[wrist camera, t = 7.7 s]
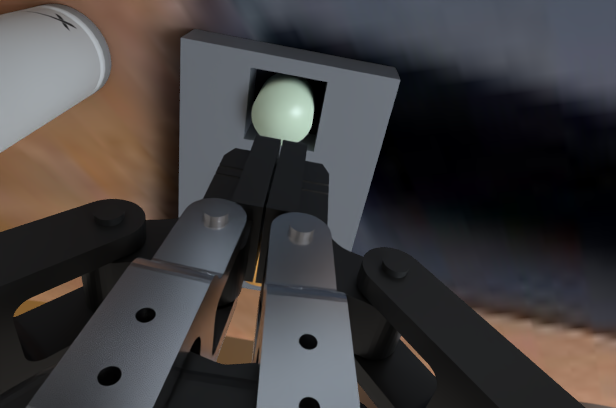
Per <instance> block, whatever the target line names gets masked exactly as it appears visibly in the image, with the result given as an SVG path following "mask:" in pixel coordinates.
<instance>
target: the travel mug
mask: <svg viewBox="0 0 616 408" xmlns="http://www.w3.org/2000/svg"><path fill="white" fill-rule="evenodd" d="M110 71H111V56H110V52H109V48H108V45H107V43H106V41H105V38H104V37H103V35H102V34H101V32H100V31H99V29H98V28H97V27H96V26H95V25H94V23H93V22H92V21H91V20H89V19H88V18H87V17H86V16H85V15H83V14H82V13H80V12H79V11H77V10H75V9H73V8H70V7H68V6H65V5H60V4H45V5H41V6H37V7H32V8H28V9H24V10H19V11H15V12H11V13H6V14H2V15H0V153H1V152H2V151H4V150H5V149H7V148H8V147H10V146H12V145H13V144H15V143H16V142H18V141H19V140H21V139H23V138H24V137H26V136H27V135H29V134H31V133H32V132H34V131H35V130H37V129H38V128H40V127H42V126H43V125H45V124H46V123H48V122H49V121H51V120H53V119H54V118H56V117H57V116H59V115H60V114H62V113H64V112H65V111H67V110H68V109H70V108H71V107H73V106H75V105H76V104H78V103H79V102H81V101H82V100H84V99H86V98H87V97H88V96H90V95H92V94H93V93H95V92H97V91H98V90H99V89H100V88H102V87H103V86H104V84H105V83H106V81H107V80H108V77H109V75H110Z"/></svg>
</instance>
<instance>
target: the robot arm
mask: <svg viewBox="0 0 616 408" xmlns="http://www.w3.org/2000/svg"><path fill="white" fill-rule="evenodd" d="M307 145H308V144H304V143H298V142H293V141H288V140H283V143H282V147H281V151H280V146H281V139H276V138H271V137H266V136H260V135H256V137H255V139H254V142H253V145H252V147H251V150H244V149H239V148H234V149H233V150H231V151H230V152H228V153H226V154H225V155H224V156H223V158H222V160H221V162H220V164H219V166H218V169H217V171H216V173H215V175H214V177H213V179H212V181H211V183H210V185H209V187H208V189H207V191H206V193H205V195H204V198H203V199H200V200H197V201H195V202H193V203H191V204H190V205H189V206H188V207H187V208H186V209H185V210H184V212H183V213H182V215H181V216H180V217H179V218H175V219H166V220H145V213H144V211H143V210H142V208H141V207H139V206H138V205H137V204H135V203H132V202H129V201H126V200H120V199H106V200H99V201H95V202H92V203H89V204H86V205H83V206H80V207H77V208H74V209H70V210H67V211H64V212H61V213H58V214H55V215H52V216H49V217H46V218H43V219H40V220H37V221H34V222H31V223H27V224H24V225H21V226H18V227H15V228H12V229H9V230H6V231H3V232H0V408H367V407H366V406H365V405H364V404H362V403H361V402H359V394H358V386H357V382H358V383H359V385H360V386H361V387H362V388H363V389H364V391H365V392H366V393H367V395H368V396H369V397H370V399H371V400H372V401H373V402H374V404H375V405H376V406H377V407H378V408H585V407H584V406H583V405H582V404H580V403H579V402H578V401H577V400H576V399H575V398H574V397H572V396H571V395H570V394H569V393H568V392H567V391H566V390H564V389H563V388H562V387H561V386H560V385H559V384H558V383H556V382H555V381H554V380H553V379H552V378H551V377H549V376H548V375H547V374H546V373H545V372H544V371H543V370H541V369H540V368H539V367H538V366H537V365H536V364H535V363H533V362H532V361H531V360H530V359H529V358H528V357H527V356H525V355H524V354H523V353H522V352H521V351H520V350H519V349H517V348H516V347H515V346H514V345H513V344H512V343H511V342H509V341H508V340H507V339H506V338H505V337H504V336H503V335H501V334H500V333H499V332H498V331H497V330H496V329H495V328H493V327H492V326H491V325H490V324H489V323H488V322H487V321H485V320H484V319H483V318H482V317H481V316H480V315H479V314H477V313H476V312H475V311H474V310H473V309H472V308H471V307H469V306H468V305H467V304H466V303H465V302H464V301H462V300H461V299H460V298H459V297H458V296H457V295H456V294H454V293H453V292H452V291H451V290H450V289H449V288H448V287H446V286H445V285H444V284H443V283H442V282H441V281H440V280H438V279H437V278H436V277H435V276H434V275H433V274H432V273H430V272H429V271H428V270H427V269H426V268H425V267H424V266H422V265H421V264H420V263H419V262H418V261H417V260H416V259H414V258H413V257H412V256H410V255H408V254H407V253H405V252H402V251H400V250H397V249H393V248H387V247H380V248H375V249H372V250H370V251H368V252H367V253H366V254H365V255H364V257H362V256H360V255H357V254H355V253H352V252H350V251H348V250H346V249H344V248H343V247H341V246H340V245H338V244H337V243H336V242H335V241H334V240H333V239H332V235H331V231H330V229H329V227H328V197H329V195H328V194H329V173H328V171H327V170H326V168H325V167H324V165H323V164H320V163H315V162H310V161H305V160H306V153H307ZM279 152H280V155H279ZM259 253H260V254H259ZM258 257H259V260H258ZM257 261H258V267H257V274H256V281H255V283H261V284H262V285H261V291H260V298H259V304H258V310H257V319H256V329H255V338H254V348H253V358H252V363H247V364H232V365H224V364H220V363H217V362H216V360H217V357H218V354H219V352H220V349H221V346H222V343H223V341H224V338H225V335H226V333H227V330H228V327H229V324H230V322H231V319H232V316H233V314H234V311H235V308H236V305H237V298H238V295H239V294H240V292H241V288H242V284H243V281H248V282H253V278H254V274H255V270H256V265H257ZM80 276H82V282H83V287H81V288H78V289H76V290H74V291H72V292H70V293H67V294H65V295H63V296H61V297H58V298H56V299H54V300H52V301H50V302H47V303H45V304H43V305H41V306H39V307H37V308H34V309H32V310H30V311H28V312H26V313H23V314H21V315H19V316H16V317H13V316H14V313H15V311H16V309H17V308H18V307H19V306H20V305H21V304H22V303H23V302H25V301H26V300H28V299H29V298H31V297H34V296H36V295H38V294H40V293H43V292H45V291H47V290H50V289H52V288H54V287H57V286H59V285H61V284H63V283H66V282H68V281H70V280H73V279H75V278H77V277H80ZM401 336H402V337H403V338H404V339H405V340H406V341H407V342H408V343H409V344H410V345H411V346H412V347H413V348H414V349H415V350H416V351H417V352H418V354H419V355H420V356H421V357H422V358H423V359H424V360H425V361H426V362H427V363H428V364H429V365H430V367H431V368H432V370H433V371H434V373H435V376H436V377H435V376H434V375H433V374H432V373H431V372H430V371H429V370H428V369H427V368H426V366H425V365H424V364H423V363H422V362H421V361H420V360H419V359H418V358H417V357H416V356H415V355H414V354H413V353H412V352H411V350H410V349H409V348H408V347H407V346H406V345H405V344H404V343H403V342H402V341H401V340H400V337H401Z"/></svg>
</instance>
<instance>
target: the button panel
mask: <svg viewBox="0 0 616 408" xmlns="http://www.w3.org/2000/svg"><path fill="white" fill-rule="evenodd" d="M257 69H262V70H267V71H272V72H278V73H283V74H288V75H293V76H299V77H304V78H309V79H314V80H320V81H325V82H326V86H325V91H324V96H323V101H322V106H321V112H320V117H319V122H318V127H317V132H316V135H312V134H307V135H306V136H305V137H304V138H303V139H302V140H301V141H299V142H298V143H304V144H308V145H307V153H306V160H305V161H310V162H315V163H320V164H323V165H324V167H325V168H326V170H327V171H328V173H329V194H328V195H329V197H328V227H329V229H330V231H331V235H332V239H333V240H334V241H335V242H336V243H337V244H338V245H340V246H341V247H343V248H344V249H346V250H348V251H350V252H351V250H352V247H353V243H354V240H355V236H356V233H357V229H358V226H359V222H360V219H361V215H362V212H363V208H364V205H365V201H366V198H367V194H368V191H369V187H370V184H371V180H372V177H373V173H374V170H375V167H376V163H377V160H378V156H379V153H380V149H381V146H382V142H383V139H384V135H385V132H386V128H387V125H388V121H389V118H390V114H391V111H392V107H393V104H394V100H395V97H396V93H397V90H398V86H399V83H400V78H399V75H398V73H397V71H396V68H394V67H389V66H384V65H379V64H374V63H369V62H363V61H358V60H353V59H348V58H343V57H337V56H332V55H327V54H322V53H317V52H312V51H306V50H301V49H296V48H291V47H286V46H280V45H275V44H270V43H265V42H260V41H254V40H249V39H244V38H239V37H234V36H229V35H223V34H218V33H213V32H208V31H203V30H197V29H194V30H192V31H190V32H189V33H187V34H186V35H184V36H183V37H181V54H180V137H179V217H180V216H181V215H182V213H183V212H184V210H185V209H186V208H187V207H188V206H189V205H190V204H191V203H193V202H195V201H197V200H200V199H203V198H204V195H205V193H206V191H207V189H208V187H209V185H210V183H211V181H212V179H213V177H214V175H215V173H216V171H217V169H218V166H219V164H220V162H221V160H222V158H223V156H224V155H225V154H226V153H228V152H230V151H231V150H233V149H234V148H239V149H244V150H251V147H252V145H253V142H254V139H255V137H256V135H259V134H258V132H257V131H256V129H255V127H254V125H253V123H251V120H252V116H251V115H252V107H253V101H254V91H255V82H256V73H257ZM281 147H282V146H280V151H281ZM279 155H280V152H279ZM242 288H248V289H254V290H260V291H261V286H255V285H252V284H249V283H247V282H246V281H243V284H242Z"/></svg>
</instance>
